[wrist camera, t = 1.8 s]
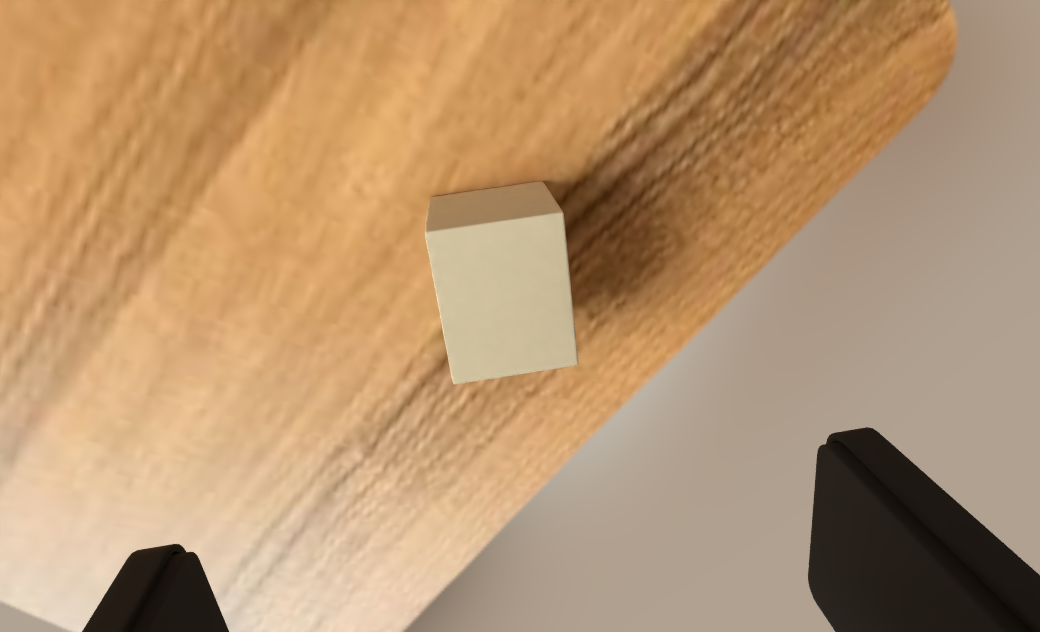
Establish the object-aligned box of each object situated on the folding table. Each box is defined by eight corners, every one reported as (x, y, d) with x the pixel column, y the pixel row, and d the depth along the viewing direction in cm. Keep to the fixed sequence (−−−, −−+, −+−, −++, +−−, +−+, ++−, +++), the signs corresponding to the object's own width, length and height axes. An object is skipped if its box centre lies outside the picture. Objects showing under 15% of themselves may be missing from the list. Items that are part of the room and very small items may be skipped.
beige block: (542, 180, 22) (563, 211, 18) (557, 311, 24) (578, 366, 20) (429, 196, 22) (424, 232, 18) (452, 327, 24) (452, 385, 20)
